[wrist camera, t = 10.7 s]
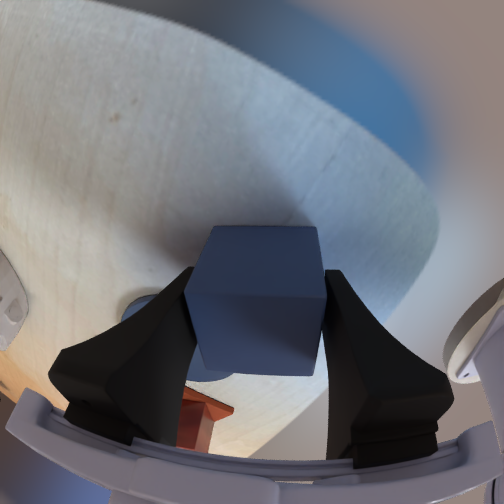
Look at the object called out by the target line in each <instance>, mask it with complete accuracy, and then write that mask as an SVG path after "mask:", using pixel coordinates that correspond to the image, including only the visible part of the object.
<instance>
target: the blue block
mask: <svg viewBox="0 0 504 504" xmlns="http://www.w3.org/2000/svg"><path fill="white" fill-rule="evenodd" d="M184 295H185V298H186V302H187V306H188V310H189V313H190V317H191V321H192V324H193V328H194V331H195V335H196V338H197V342H198V345H199V349H200V352H201V355H202V358H203V362H204V365H205V368H206V370H208V371H218V372H228V373H241V374H256V375H277V376H312V375H313V373H314V368H315V363H316V358H317V353H318V348H319V342H320V337H321V331H322V325H323V319H324V313H325V307H326V300H327V292H326V285H325V278H324V271H323V265H322V258H321V252H320V246H319V240H318V234H317V229H316V227H287V226H214V227H213V229H212V231H211V234H210V236H209V238H208V240H207V242H206V244H205V246H204V248H203V251H202V253H201V255H200V257H199V259H198V261H197V263H196V266H195V268H194V270H193V272H192V274H191V277H190V279H189V281H188V283H187V285H186V288H185V290H184Z"/></svg>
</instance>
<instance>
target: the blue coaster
mask: <svg viewBox="0 0 504 504" xmlns="http://www.w3.org/2000/svg"><path fill="white" fill-rule="evenodd" d="M156 296H157V295H153V296H147V297H142V298H140V299H138V300H136V301H134V302H133V303H131V304H130V305H129V306H128V307H127V309H126V311H125V312H124V314H123V316H122V319H121V322H122V321H124V320H125V319H127V318H128V317H130V316H131V315H133V314H134V313H136V312H137V311H138V310H140V309H141V308H142V307H144V306H145V305H146V304H147V303H148V302H150V301H151V300H152V299H153V298H154V297H156ZM232 374H233V373H228V372H218V371H208V370H206V368H205V365H204V362H203V358H202V355H201V352H200V349H199V345H198V343H197V346H196V349H195V352H194V354H193V357H192V360H191V363H190V366H189V370H188V374H187V379H186V380H189V381H196V382H210V381H217V380H221V379H224V378H226V377H228V376H230V375H232Z"/></svg>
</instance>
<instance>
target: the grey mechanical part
mask: <svg viewBox="0 0 504 504" xmlns="http://www.w3.org/2000/svg"><path fill="white" fill-rule="evenodd" d="M27 313H28V302H27V298H26V294H25V292H24V289H23V287H22V285H21V283H20V281H19V278H18V277H17V275H16V273H15V271H14V270H13V268H12V266H11V265H10V263H9V262H8V260H7V259H6V257H5V256H4V255H3V253H2V252H1V250H0V350H1V351H6V349H7V348H8V347H9V345H10V344H11V342H12V341H13V339H14V338H15V337H16V335H17V334H18V332H19V330H20V328H21V326H22V325H23V322H24V320H25V317H26V315H27Z"/></svg>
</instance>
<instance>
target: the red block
mask: <svg viewBox="0 0 504 504" xmlns="http://www.w3.org/2000/svg"><path fill="white" fill-rule="evenodd" d="M213 426H214V422H213V419H212V417H211V415H210V412H209V410H208V407H207V405H206V403H205V402H198V401H191V400H185V399H182V404H181V410H180V417H179V424H178V432H177V442H176V447H177V448H181V449H186V450H191V451H197V452H203V453H208V450H209V445H210V440H211V435H212V431H213Z"/></svg>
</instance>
